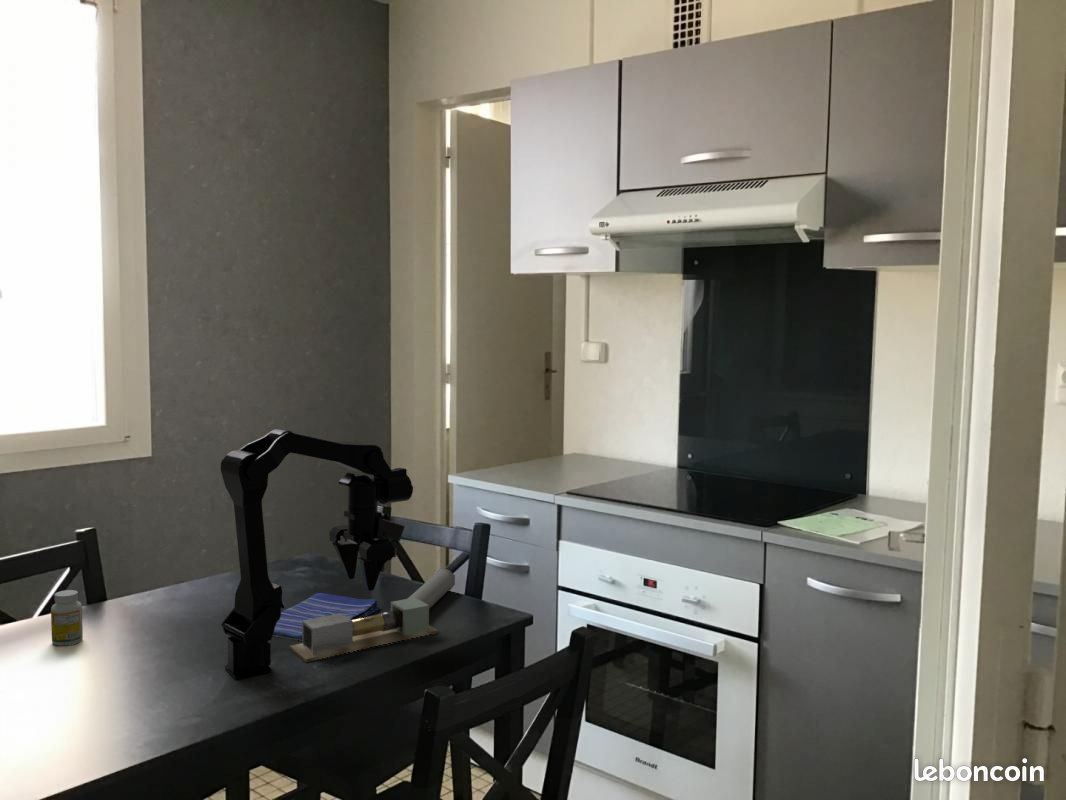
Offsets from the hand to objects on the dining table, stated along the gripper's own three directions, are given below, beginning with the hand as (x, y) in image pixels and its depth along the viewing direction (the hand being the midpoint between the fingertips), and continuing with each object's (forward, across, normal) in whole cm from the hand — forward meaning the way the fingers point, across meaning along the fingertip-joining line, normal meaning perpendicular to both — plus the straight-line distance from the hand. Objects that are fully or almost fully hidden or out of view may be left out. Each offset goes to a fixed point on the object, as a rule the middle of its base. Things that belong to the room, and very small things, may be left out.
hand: (361, 584), depth 177 cm
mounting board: (+11, -2, 0) cm, 11 cm away
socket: (+11, -2, -10) cm, 15 cm away
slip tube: (+10, -2, -2) cm, 10 cm away
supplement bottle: (+12, +28, +48) cm, 57 cm away
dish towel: (+12, +15, +3) cm, 19 cm away
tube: (+11, +11, -21) cm, 26 cm away
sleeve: (+11, -2, +8) cm, 14 cm away
